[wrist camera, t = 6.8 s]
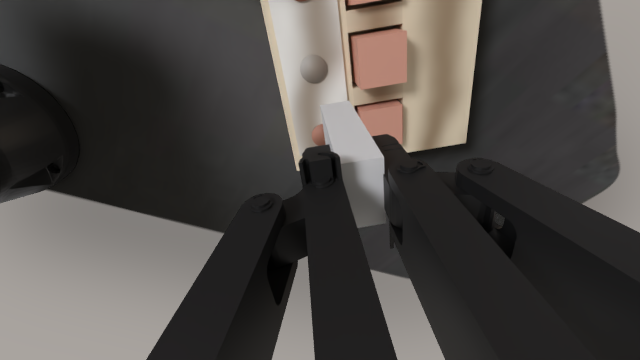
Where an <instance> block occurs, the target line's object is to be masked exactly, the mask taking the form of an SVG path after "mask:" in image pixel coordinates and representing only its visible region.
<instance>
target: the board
mask: <svg viewBox="0 0 640 360" xmlns="http://www.w3.org/2000/svg"><path fill="white" fill-rule="evenodd" d="M260 2H261V6H262V11H263V15H264V20H265V25H266V29H267V34H268V39H269V43H270V48H271V52H272V57H273V62H274V66H275V71H276V76H277V80H278V85H279V89H280V94H281V99H282V103H283V108H284V113H285V117H286V122H287V127H288V131H289V136H290V140H291V145H292V150H293V154H294V159H295V164H296V168H297V171H300V169H299V164H298V163H299V160H300V159H301V158H302V153H303V152H304V151H305V149H306V148H309V147H315V146H321V145H326V144H325V137H324V130H323V122H322V115H321V108H320V105H325V104H331V103H337V102H343V101H350V103H351V104H352V106H353V108H354V109H355V106H356V105H362V104H368V103H373V102H379V101H385V100H391V99H397V100H398V101H399V102H400V103H401V104H402V125H403V144H401V146H402V147H403V148H404V149H405V151H406V152H407V153H408V152H414V151H420V150H426V149H432V148H438V147H444V146H450V145H456V144H462V143H466V137H467V129H468V120H469V111H470V102H471V93H472V85H473V76H474V67H475V58H476V49H477V41H478V32H479V23H480V14H481V5H482V0H379V1H373V2H367V3H362V4H356V5H346V6H345V0H260ZM393 28H396V29H401V30H406V31H407V82H405V83H399V84H393V85H387V86H381V87H375V88H369V89H363V90H361V89H360V88H359V87H358V86H357V84H356V83H355V82H354V73H353V62H352V50H351V39H350V36H352V35H358V34H364V33H370V32H376V31H381V30H387V29H393Z"/></svg>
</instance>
